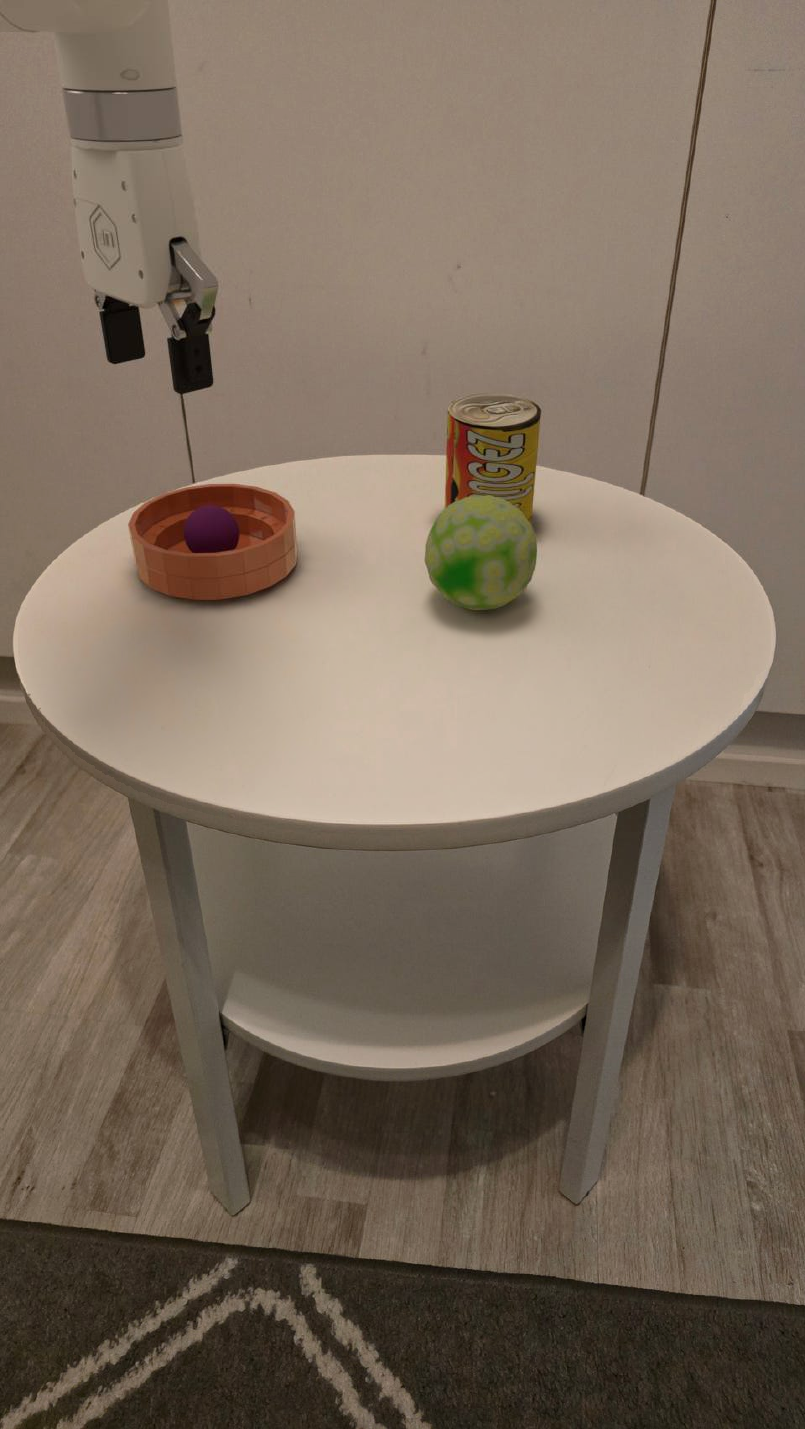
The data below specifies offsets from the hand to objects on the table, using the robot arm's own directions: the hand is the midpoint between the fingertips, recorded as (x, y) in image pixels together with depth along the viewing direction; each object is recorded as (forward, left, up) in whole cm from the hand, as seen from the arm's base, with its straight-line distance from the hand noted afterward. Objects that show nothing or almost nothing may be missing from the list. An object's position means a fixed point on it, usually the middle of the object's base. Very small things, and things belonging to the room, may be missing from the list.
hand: (159, 374), depth 77 cm
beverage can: (+32, +4, -21) cm, 38 cm away
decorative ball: (+24, -10, -21) cm, 33 cm away
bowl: (+4, +6, -21) cm, 22 cm away
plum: (+4, +6, -20) cm, 21 cm away
